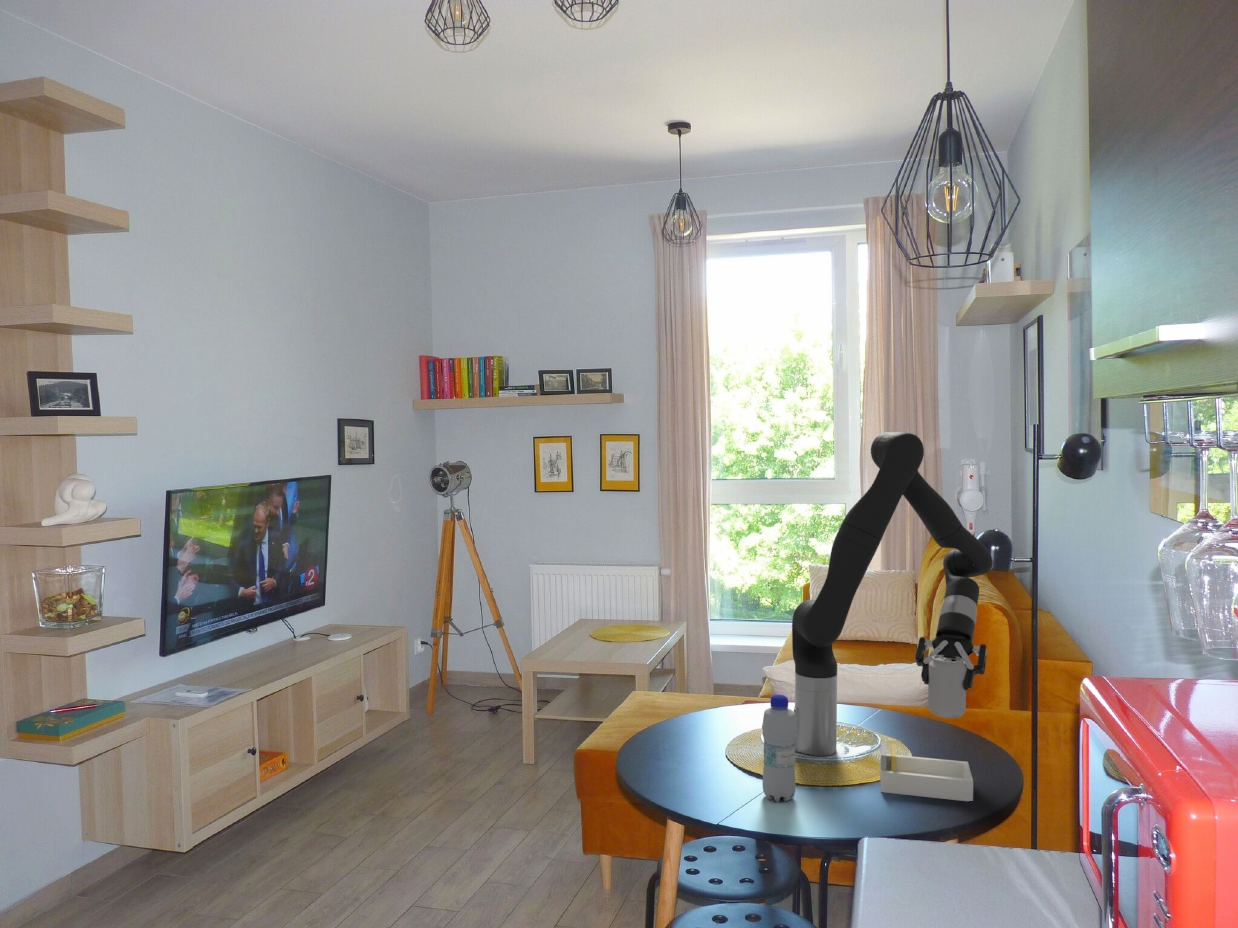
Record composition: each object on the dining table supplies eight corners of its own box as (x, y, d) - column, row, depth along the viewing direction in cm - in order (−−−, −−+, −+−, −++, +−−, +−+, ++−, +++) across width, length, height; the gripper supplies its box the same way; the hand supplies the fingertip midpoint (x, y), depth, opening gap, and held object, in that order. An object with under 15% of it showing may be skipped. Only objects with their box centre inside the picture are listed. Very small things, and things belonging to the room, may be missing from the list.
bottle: (775, 806, 170) (776, 701, 170) (754, 794, 176) (755, 692, 176) (803, 800, 174) (804, 697, 173) (782, 788, 180) (782, 688, 179)
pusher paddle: (891, 783, 179) (891, 756, 179) (890, 769, 186) (891, 743, 186) (896, 784, 179) (896, 756, 178) (895, 770, 186) (896, 743, 186)
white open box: (880, 791, 178) (881, 756, 178) (880, 772, 189) (880, 739, 188) (972, 801, 173) (973, 765, 173) (967, 781, 184) (967, 746, 184)
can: (968, 720, 186) (969, 662, 185) (930, 717, 187) (931, 660, 187) (962, 709, 193) (963, 654, 193) (925, 707, 194) (926, 652, 194)
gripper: (921, 607, 200) (908, 670, 190) (990, 614, 192) (980, 680, 183) (925, 627, 204) (913, 689, 195) (993, 634, 197) (984, 700, 187)
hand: (945, 685), depth 189 cm, fingers closed on can, 7 cm apart
